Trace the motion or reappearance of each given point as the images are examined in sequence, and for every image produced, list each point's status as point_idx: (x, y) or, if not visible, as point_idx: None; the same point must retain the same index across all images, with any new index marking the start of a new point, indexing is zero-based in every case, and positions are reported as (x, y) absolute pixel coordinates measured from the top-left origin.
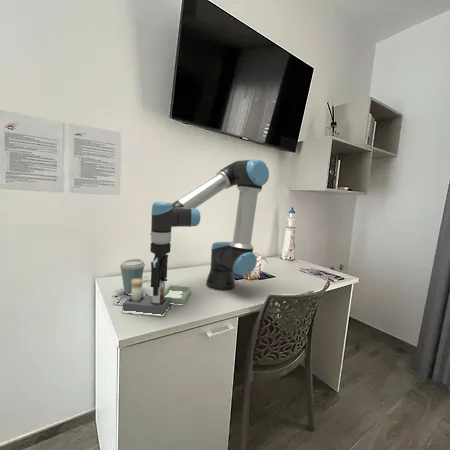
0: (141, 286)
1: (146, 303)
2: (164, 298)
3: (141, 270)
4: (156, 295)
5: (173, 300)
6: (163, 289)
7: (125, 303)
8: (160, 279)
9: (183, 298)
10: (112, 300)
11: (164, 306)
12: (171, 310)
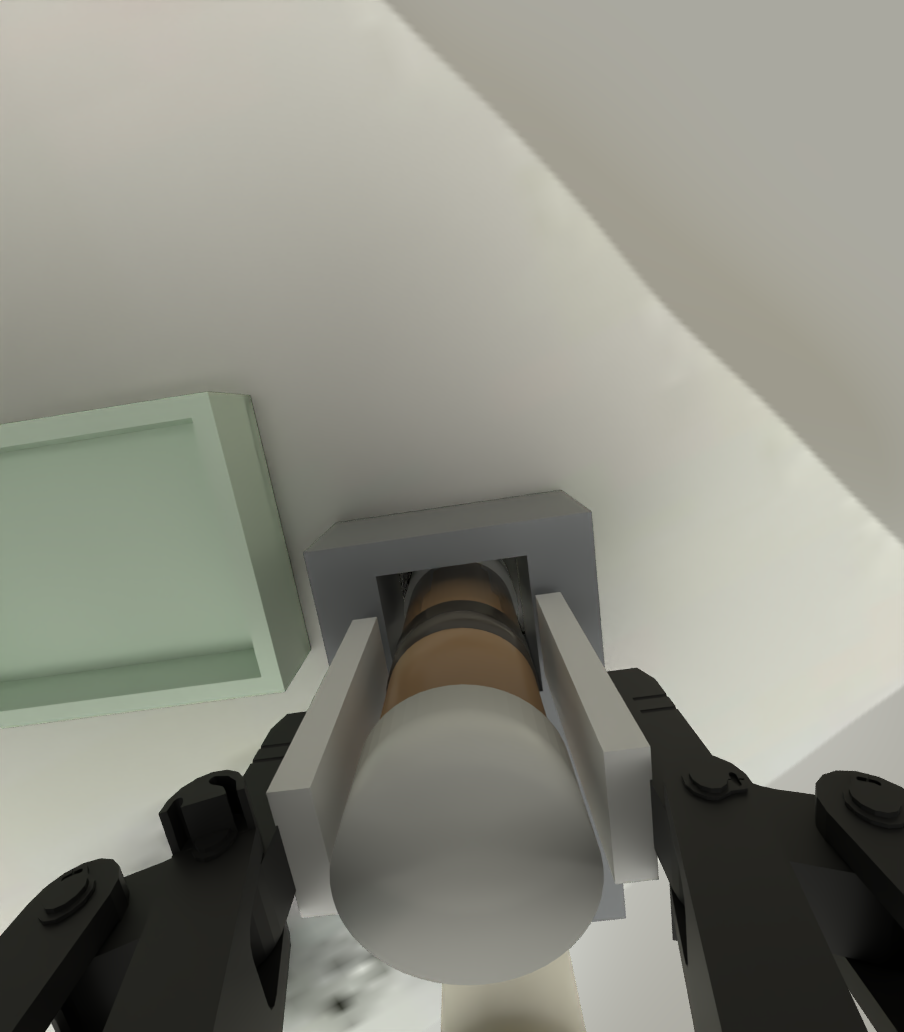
0: (508, 1013)
1: (559, 725)
2: (350, 610)
3: None
4: (643, 680)
5: (255, 523)
6: (462, 672)
7: (623, 894)
8: (275, 930)
9: (185, 410)
10: (420, 989)
11: (548, 515)
12: (396, 476)
